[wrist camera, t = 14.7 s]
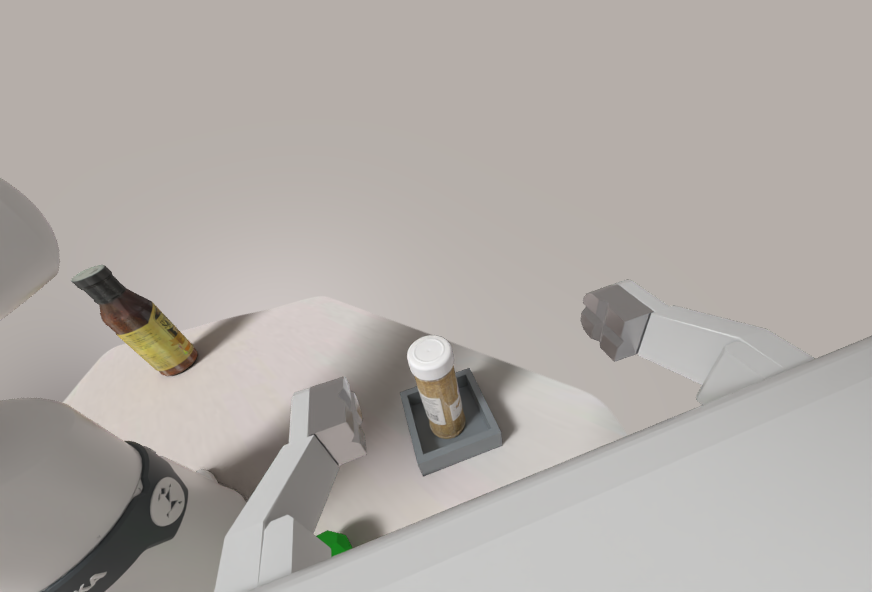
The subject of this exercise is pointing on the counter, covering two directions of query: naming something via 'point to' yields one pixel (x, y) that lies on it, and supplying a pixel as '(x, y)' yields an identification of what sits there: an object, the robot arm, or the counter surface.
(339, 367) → the counter surface
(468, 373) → the bin
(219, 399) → the counter surface
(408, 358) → the sprinkles bottle
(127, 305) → the sauce bottle
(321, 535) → the polyhedron
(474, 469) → the counter surface
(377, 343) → the counter surface
